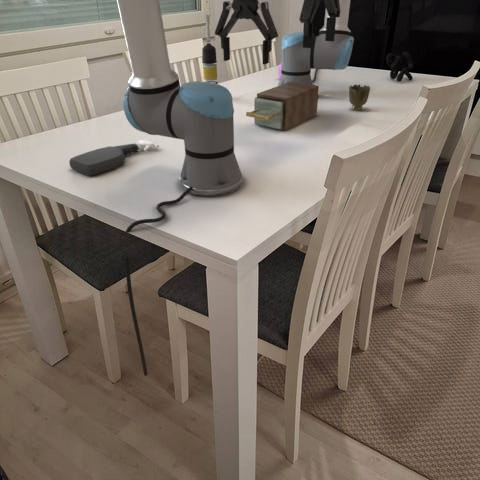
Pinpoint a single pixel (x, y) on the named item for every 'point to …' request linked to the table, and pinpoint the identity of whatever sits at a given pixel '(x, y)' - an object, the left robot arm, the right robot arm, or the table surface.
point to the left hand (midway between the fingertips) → (245, 62)
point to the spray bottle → (106, 157)
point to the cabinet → (294, 102)
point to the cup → (358, 96)
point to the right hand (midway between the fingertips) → (318, 44)
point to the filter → (209, 58)
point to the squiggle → (399, 66)
